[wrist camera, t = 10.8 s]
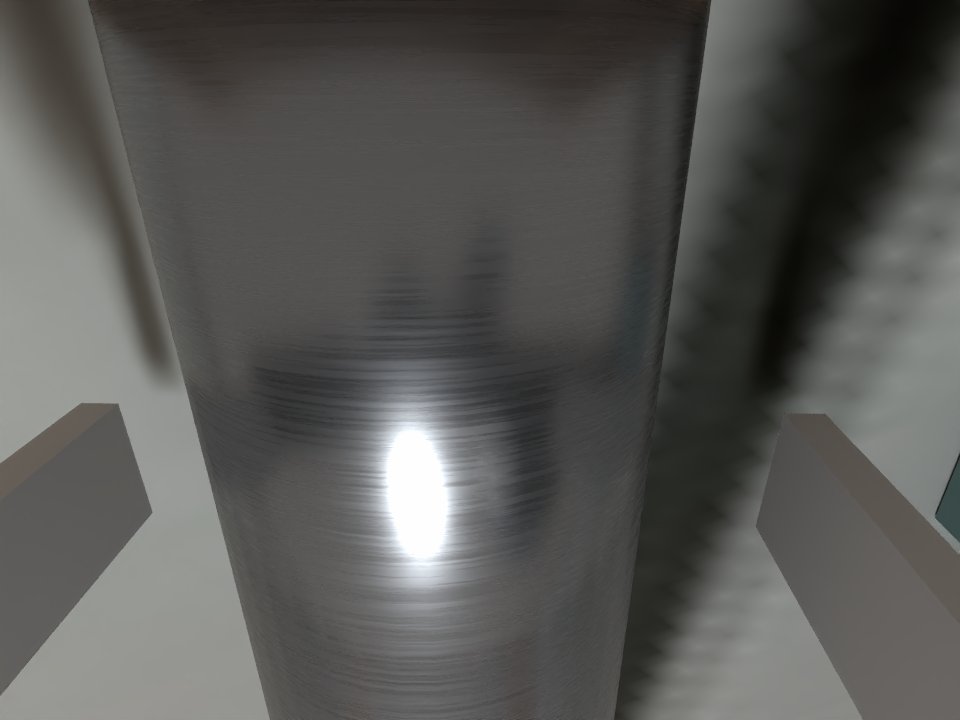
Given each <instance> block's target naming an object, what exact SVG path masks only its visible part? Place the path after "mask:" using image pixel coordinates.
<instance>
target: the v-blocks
mask: <svg viewBox="0 0 960 720" xmlns="http://www.w3.org/2000/svg"><path fill="white" fill-rule="evenodd" d="M935 518H936V519H937V520H938V521H939V522H940V523H941V524H942V525H943V526H944V527H945V528H946V529H947V530H948V531H949V532H950V533H951V534H952V535H953V536H954V537H955V538H956V539H957V540H958V541H959V543H960V458H959V460H958V463H957V465H956V468H955V470H954V473H953V475H952V478H951V480H950V483H949V485H948V487H947V490H946V492H945V495H944V497H943V500H942V502H941V505H940V507H939V509H938V512H937V514H936V517H935Z"/></svg>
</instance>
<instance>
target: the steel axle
mask: <svg viewBox="0 0 960 720" xmlns="http://www.w3.org/2000/svg"><path fill="white" fill-rule="evenodd" d="M88 3H89V7H90V11H91V15H92V19H93V23H94V27H95V30H96V34H97V38H98V42H99V46H100V50H101V54H102V58H103V62H104V66H105V70H106V74H107V78H108V82H109V86H110V90H111V94H112V98H113V102H114V105H115V109H116V113H117V117H118V121H119V125H120V129H121V133H122V137H123V141H124V145H125V149H126V153H127V157H128V161H129V165H130V169H131V173H132V177H133V180H134V184H135V188H136V192H137V196H138V200H139V204H140V208H141V212H142V216H143V220H144V224H145V228H146V232H147V236H148V240H149V244H150V248H151V251H152V255H153V259H154V263H155V267H156V271H157V275H158V279H159V283H160V287H161V291H162V295H163V299H164V303H165V307H166V311H167V315H168V319H169V323H170V326H171V330H172V334H173V338H174V342H175V346H176V350H177V354H178V358H179V362H180V366H181V370H182V374H183V378H184V382H185V386H186V390H187V394H188V398H189V401H190V405H191V409H192V413H193V417H194V421H195V425H196V429H197V433H198V437H199V441H200V445H201V449H202V453H203V457H204V461H205V465H206V469H207V472H208V476H209V480H210V484H211V488H212V492H213V496H214V500H215V504H216V508H217V512H218V516H219V520H220V524H221V528H222V532H223V536H224V540H225V544H226V547H227V551H228V555H229V559H230V563H231V567H232V571H233V575H234V579H235V583H236V587H237V591H238V595H239V599H240V603H241V607H242V611H243V615H244V619H245V622H246V626H247V630H248V634H249V638H250V642H251V646H252V650H253V654H254V658H255V662H256V666H257V670H258V674H259V678H260V682H261V686H262V690H263V693H264V697H265V701H266V705H267V709H268V713H269V717H270V720H614V713H615V706H616V699H617V691H618V684H619V677H620V669H621V662H622V655H623V647H624V640H625V632H626V625H627V618H628V610H629V603H630V596H631V588H632V581H633V573H634V566H635V559H636V551H637V544H638V537H639V529H640V522H641V514H642V507H643V500H644V492H645V485H646V478H647V470H648V463H649V455H650V448H651V441H652V433H653V426H654V419H655V411H656V404H657V396H658V389H659V382H660V374H661V367H662V360H663V352H664V345H665V337H666V330H667V323H668V315H669V308H670V301H671V293H672V286H673V278H674V271H675V264H676V256H677V249H678V242H679V234H680V227H681V219H682V212H683V205H684V197H685V190H686V183H687V175H688V168H689V160H690V153H691V146H692V138H693V131H694V124H695V116H696V109H697V102H698V94H699V87H700V79H701V72H702V65H703V57H704V50H705V43H706V35H707V28H708V20H709V13H710V6H711V0H88Z"/></svg>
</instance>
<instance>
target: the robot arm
mask: <svg viewBox="0 0 960 720" xmlns="http://www.w3.org/2000/svg"><path fill="white" fill-rule="evenodd" d="M151 514H152V509H151V506H150V503H149V500H148V496H147V493H146V490H145V487H144V484H143V481H142V478H141V474H140V471H139V468H138V465H137V462H136V459H135V455H134V452H133V449H132V446H131V443H130V440H129V437H128V433H127V430H126V427H125V424H124V421H123V418H122V414H121V411H120V408H119V405H118V404H103V403H81V404H79V405H78V406H77V407H75V408H74V409H73V410H71V411H70V412H69V413H67V414H66V415H65V416H63V417H62V418H61V419H59V420H58V421H57V422H55V423H54V424H53V425H51V426H50V427H49V428H47V429H46V430H45V431H43V432H42V433H41V434H39V435H38V436H37V437H35V438H34V439H33V440H31V441H30V442H29V443H27V444H26V445H25V446H23V447H22V448H21V449H19V450H18V451H17V452H15V453H14V454H13V455H11V456H10V457H9V458H7V459H6V460H5V461H3V462H2V463H1V464H0V695H1V694H2V693H3V692H4V691H5V689H6V688H7V687H8V686H9V685H10V683H11V682H12V681H13V680H14V679H15V677H16V676H17V675H18V674H19V673H20V671H21V670H22V669H23V668H24V667H25V665H26V664H27V663H28V662H29V661H30V659H31V658H32V657H33V656H34V654H35V653H36V652H37V651H38V650H39V648H40V647H41V646H42V645H43V644H44V642H45V641H46V640H47V639H48V638H49V636H50V635H51V634H52V633H53V632H54V630H55V629H56V628H57V627H58V626H59V624H60V623H61V622H62V621H63V620H64V618H65V617H66V616H67V615H68V614H69V612H70V611H71V610H72V609H73V608H74V606H75V605H76V604H77V603H78V602H79V600H80V599H81V598H82V597H83V596H84V594H85V593H86V592H87V591H88V589H89V588H90V587H91V586H92V585H93V583H94V582H95V581H96V580H97V579H98V577H99V576H100V575H101V574H102V573H103V571H104V570H105V569H106V568H107V567H108V565H109V564H110V563H111V562H112V561H113V559H114V558H115V557H116V556H117V555H118V553H119V552H120V551H121V550H122V549H123V547H124V546H125V545H126V544H127V543H128V541H129V540H130V539H131V538H132V537H133V535H134V534H135V533H136V532H137V531H138V529H139V528H140V527H141V526H142V524H143V523H144V522H145V521H146V520H147V518H148V517H149V516H150V515H151ZM756 528H757V529H758V531H759V533H760V535H761V537H762V538H763V540H764V542H765V544H766V545H767V547H768V549H769V551H770V553H771V554H772V556H773V558H774V560H775V562H776V563H777V565H778V567H779V569H780V571H781V572H782V574H783V576H784V578H785V580H786V581H787V583H788V585H789V587H790V589H791V590H792V592H793V594H794V596H795V598H796V599H797V601H798V603H799V605H800V607H801V608H802V610H803V612H804V614H805V616H806V617H807V619H808V621H809V623H810V625H811V626H812V628H813V630H814V632H815V634H816V635H817V637H818V639H819V641H820V643H821V644H822V646H823V648H824V650H825V652H826V653H827V655H828V657H829V659H830V661H831V662H832V664H833V666H834V668H835V670H836V671H837V673H838V675H839V677H840V678H841V680H842V682H843V684H844V686H845V687H846V689H847V691H848V693H849V695H850V696H851V698H852V700H853V702H854V704H855V705H856V707H857V709H858V711H859V713H860V714H861V716H862V718H863V720H960V555H959V554H958V553H957V552H956V551H955V550H954V549H953V548H952V547H951V545H950V544H949V543H948V542H947V541H946V540H945V539H944V538H943V537H942V536H941V535H940V534H939V533H938V532H937V531H936V530H935V529H934V528H933V527H932V526H931V525H930V523H929V522H928V521H927V520H926V519H925V518H924V517H923V516H922V515H921V514H920V513H919V512H918V511H917V510H916V509H915V508H914V507H913V506H912V505H911V504H910V503H909V501H908V500H907V499H906V498H905V497H904V496H903V495H902V494H901V493H900V492H899V491H898V490H897V489H896V488H895V487H894V486H893V485H892V484H891V483H890V482H889V481H888V479H887V478H886V477H885V476H884V475H883V474H882V473H881V472H880V471H879V470H878V469H877V468H876V467H875V466H874V465H873V464H872V463H871V462H870V461H869V460H868V459H867V457H866V456H865V455H864V454H863V453H862V452H861V451H860V450H859V449H858V448H857V447H856V446H855V445H854V444H853V443H852V442H851V441H850V440H849V439H848V438H847V437H846V435H845V434H844V433H843V432H842V431H841V430H840V429H839V428H838V427H837V426H836V425H835V424H834V423H833V422H832V421H831V420H830V419H829V418H828V417H827V416H826V414H785V413H784V415H783V419H782V423H781V427H780V431H779V435H778V439H777V443H776V447H775V451H774V455H773V459H772V463H771V468H770V472H769V476H768V480H767V484H766V488H765V492H764V496H763V500H762V504H761V508H760V512H759V516H758V520H757V524H756Z"/></svg>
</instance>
